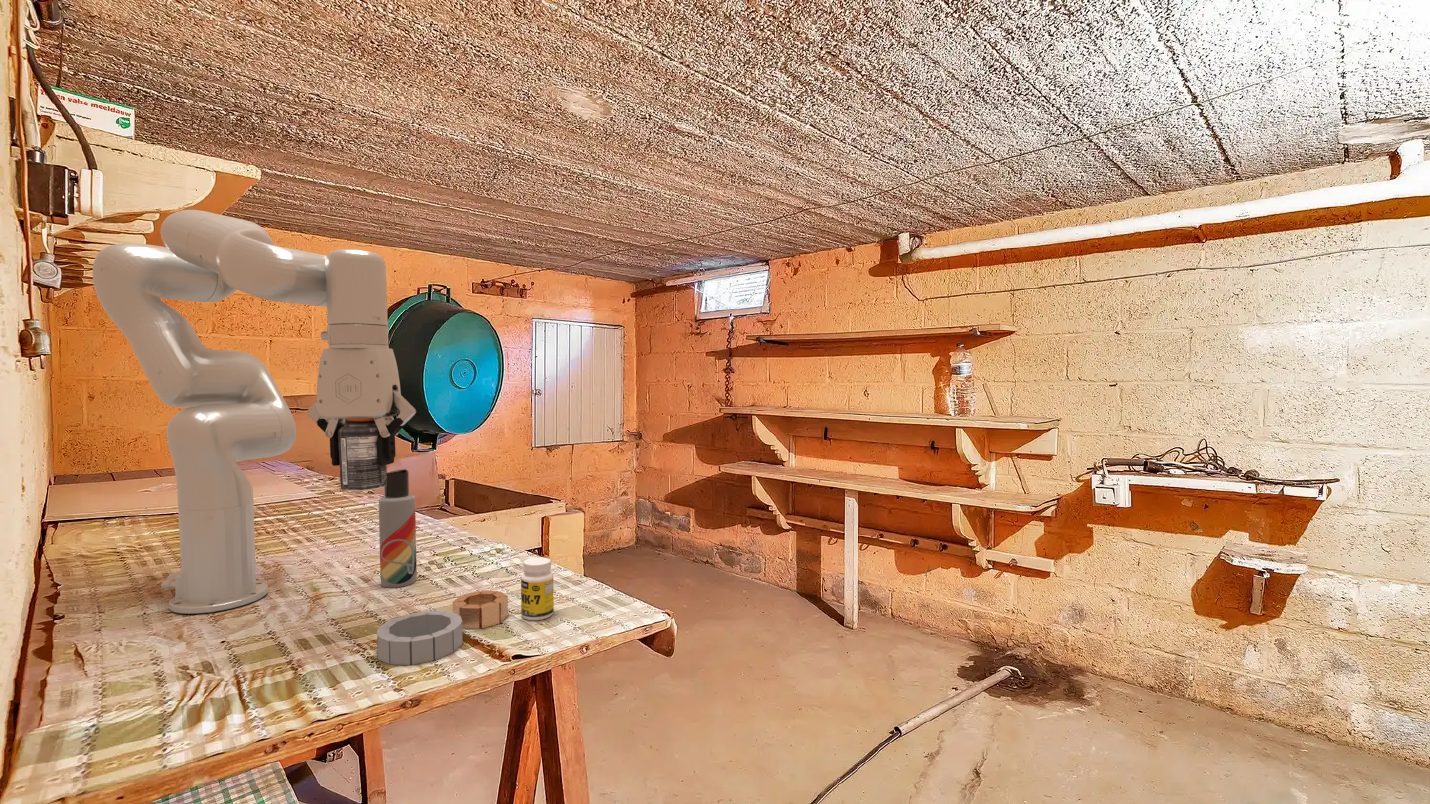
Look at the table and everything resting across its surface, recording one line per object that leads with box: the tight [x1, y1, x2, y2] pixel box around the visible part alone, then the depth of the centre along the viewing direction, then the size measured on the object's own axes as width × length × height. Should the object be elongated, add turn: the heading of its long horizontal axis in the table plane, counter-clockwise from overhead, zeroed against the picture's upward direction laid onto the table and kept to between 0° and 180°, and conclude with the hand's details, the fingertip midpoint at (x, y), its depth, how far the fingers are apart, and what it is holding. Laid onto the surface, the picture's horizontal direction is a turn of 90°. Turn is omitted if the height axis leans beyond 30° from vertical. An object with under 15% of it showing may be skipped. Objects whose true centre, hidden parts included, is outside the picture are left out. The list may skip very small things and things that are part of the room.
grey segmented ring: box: [376, 610, 464, 666], centre depth 86 cm, size 10×10×3 cm
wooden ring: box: [452, 590, 509, 630], centre depth 96 cm, size 7×7×3 cm
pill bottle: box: [338, 418, 388, 492], centre depth 92 cm, size 6×6×11 cm
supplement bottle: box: [520, 556, 555, 621], centre depth 97 cm, size 5×5×8 cm
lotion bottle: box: [378, 468, 418, 589], centre depth 111 cm, size 6×6×20 cm
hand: (363, 463), depth 92 cm, fingers closed on pill bottle, 6 cm apart
